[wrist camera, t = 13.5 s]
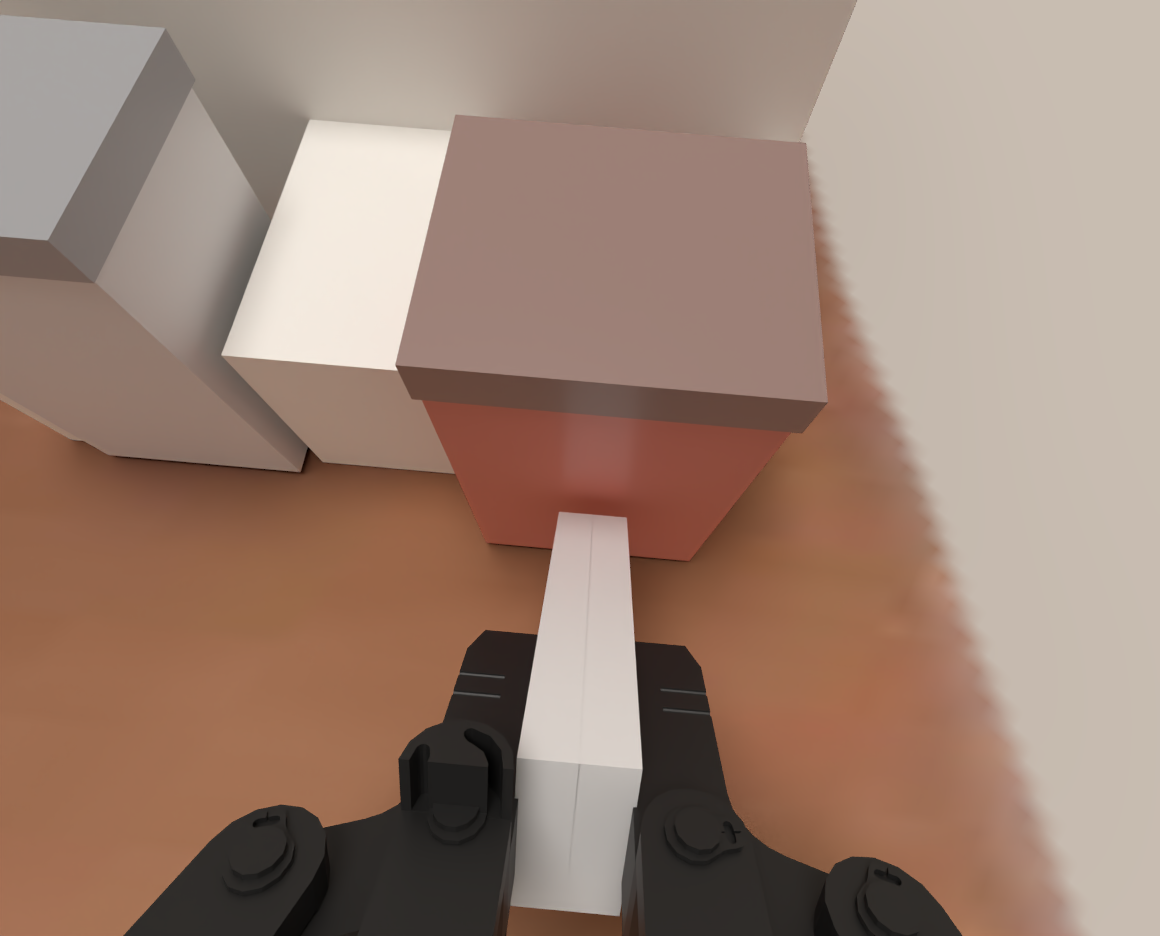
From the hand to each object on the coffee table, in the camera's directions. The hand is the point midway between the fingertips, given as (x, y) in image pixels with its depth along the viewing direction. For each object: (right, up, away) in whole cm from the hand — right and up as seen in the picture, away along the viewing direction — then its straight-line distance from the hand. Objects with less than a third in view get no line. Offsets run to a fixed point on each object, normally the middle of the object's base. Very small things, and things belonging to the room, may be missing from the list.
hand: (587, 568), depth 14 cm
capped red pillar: (0, +2, +5) cm, 6 cm away
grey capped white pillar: (-12, +5, +6) cm, 14 cm away
